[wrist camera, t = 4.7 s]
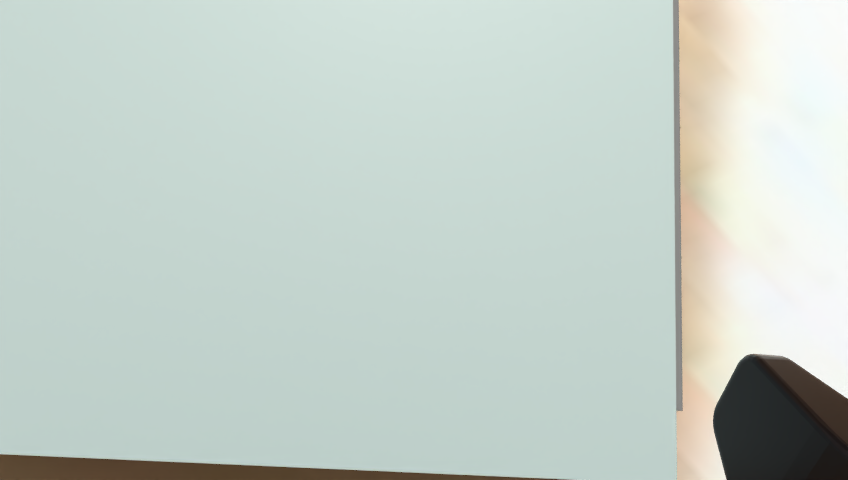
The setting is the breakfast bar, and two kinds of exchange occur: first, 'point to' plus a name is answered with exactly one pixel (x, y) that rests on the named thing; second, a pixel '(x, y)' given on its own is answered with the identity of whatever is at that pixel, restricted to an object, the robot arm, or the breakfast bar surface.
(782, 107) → the breakfast bar surface
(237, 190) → the grey-green slab
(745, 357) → the robot arm
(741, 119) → the breakfast bar surface
